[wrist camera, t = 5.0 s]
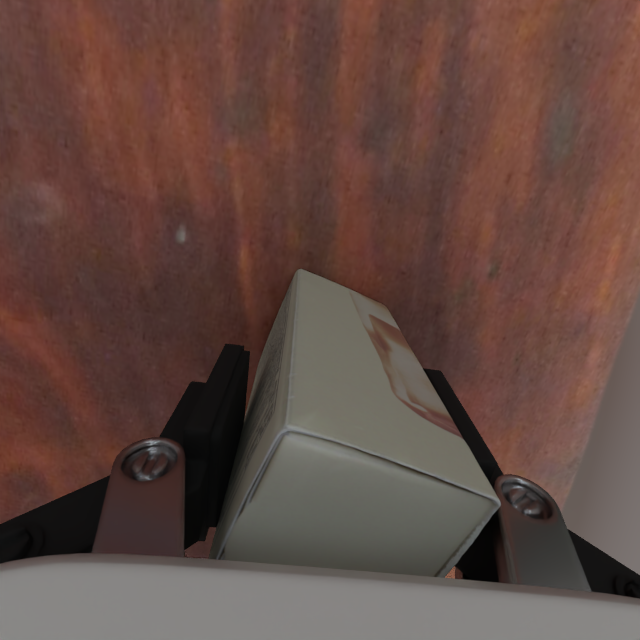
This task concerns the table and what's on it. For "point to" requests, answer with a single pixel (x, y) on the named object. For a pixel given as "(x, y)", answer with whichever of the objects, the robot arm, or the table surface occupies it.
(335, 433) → the white box
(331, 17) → the table surface
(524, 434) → the table surface
